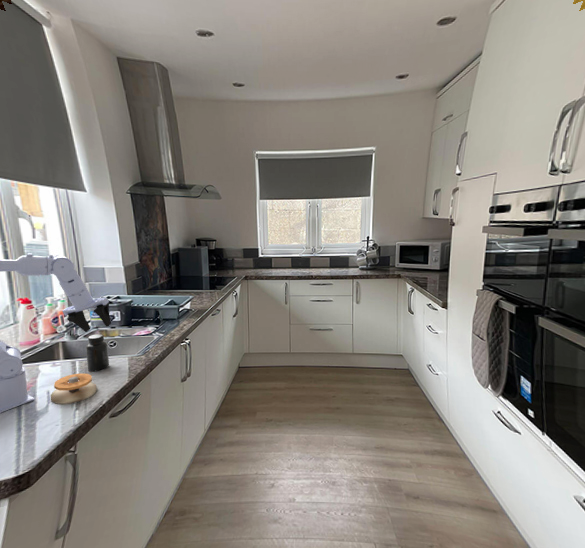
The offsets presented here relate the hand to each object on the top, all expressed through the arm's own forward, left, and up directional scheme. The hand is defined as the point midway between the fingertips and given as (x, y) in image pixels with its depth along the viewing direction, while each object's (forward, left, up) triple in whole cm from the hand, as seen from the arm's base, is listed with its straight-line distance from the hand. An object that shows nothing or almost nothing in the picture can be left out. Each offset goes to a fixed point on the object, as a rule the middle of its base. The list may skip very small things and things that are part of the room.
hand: (98, 327), depth 113 cm
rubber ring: (-10, -2, -15) cm, 18 cm away
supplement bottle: (+5, +10, -19) cm, 22 cm away
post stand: (-10, -2, -18) cm, 21 cm away
